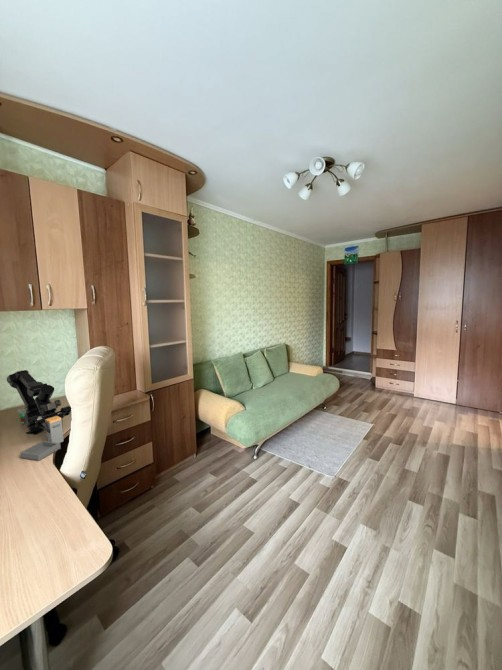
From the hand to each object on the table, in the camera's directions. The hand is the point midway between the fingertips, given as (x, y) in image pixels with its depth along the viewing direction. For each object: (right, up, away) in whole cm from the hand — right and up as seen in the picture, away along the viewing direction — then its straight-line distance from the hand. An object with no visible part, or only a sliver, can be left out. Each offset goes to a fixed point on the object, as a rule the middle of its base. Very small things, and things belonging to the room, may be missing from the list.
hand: (55, 430), depth 134 cm
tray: (-1, -8, -8) cm, 11 cm away
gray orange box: (-1, -7, +2) cm, 7 cm away
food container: (-33, -5, +27) cm, 43 cm away
